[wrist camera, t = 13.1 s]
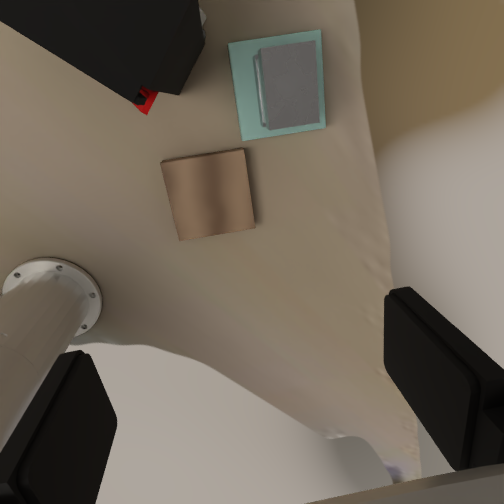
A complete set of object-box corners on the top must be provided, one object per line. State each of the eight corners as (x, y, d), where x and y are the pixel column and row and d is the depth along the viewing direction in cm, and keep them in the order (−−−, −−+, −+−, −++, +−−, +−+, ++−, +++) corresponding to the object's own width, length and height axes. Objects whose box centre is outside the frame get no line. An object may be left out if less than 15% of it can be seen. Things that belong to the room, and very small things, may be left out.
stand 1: (180, 235, 46) (179, 240, 44) (162, 160, 42) (160, 163, 40) (253, 223, 47) (255, 228, 45) (242, 147, 42) (243, 149, 41)
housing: (252, 57, 37) (260, 48, 31) (298, 50, 37) (315, 40, 31) (260, 125, 40) (269, 130, 33) (302, 119, 40) (319, 122, 34)
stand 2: (241, 139, 42) (242, 141, 40) (227, 45, 38) (228, 43, 36) (320, 126, 42) (325, 127, 41) (315, 32, 38) (320, 29, 36)
